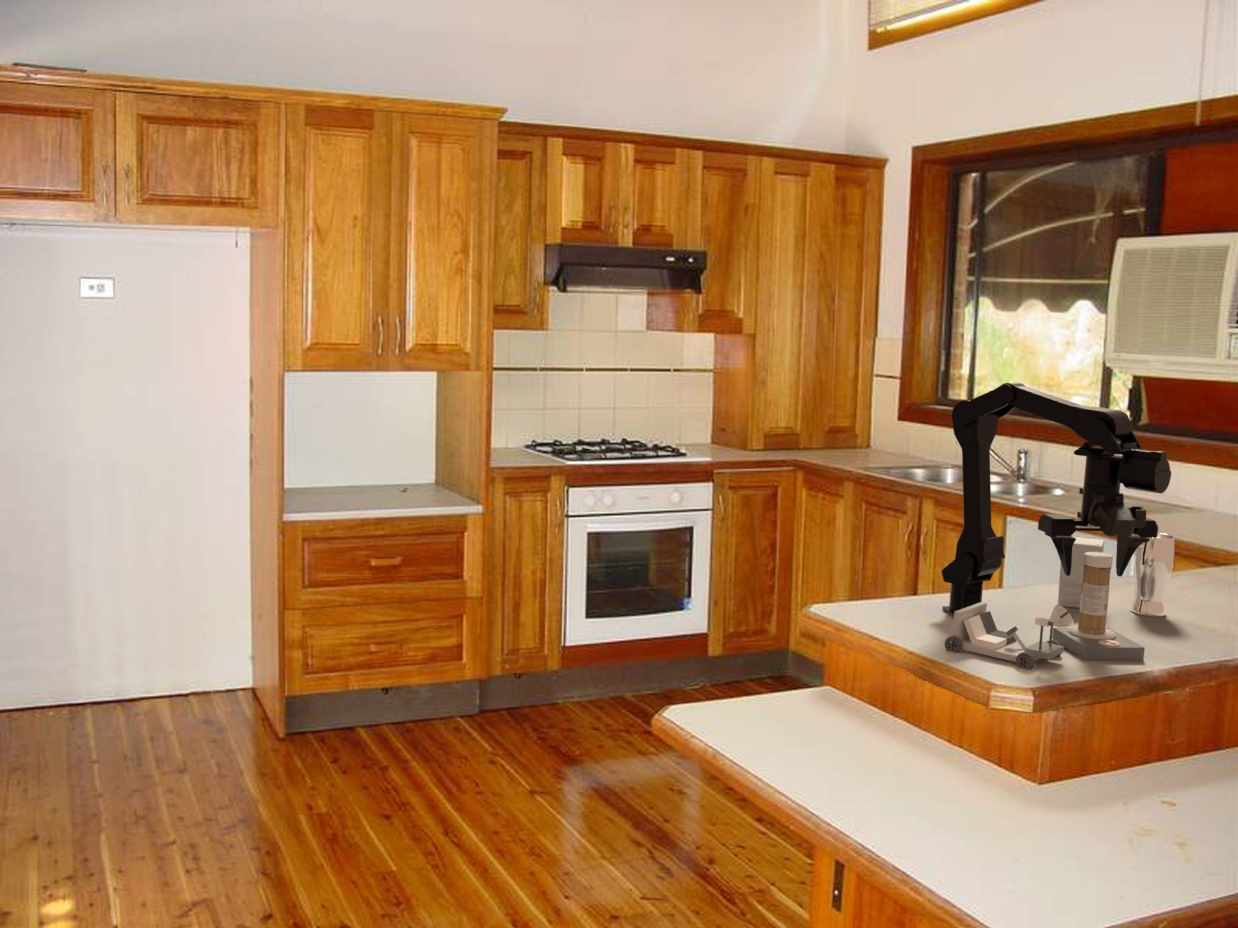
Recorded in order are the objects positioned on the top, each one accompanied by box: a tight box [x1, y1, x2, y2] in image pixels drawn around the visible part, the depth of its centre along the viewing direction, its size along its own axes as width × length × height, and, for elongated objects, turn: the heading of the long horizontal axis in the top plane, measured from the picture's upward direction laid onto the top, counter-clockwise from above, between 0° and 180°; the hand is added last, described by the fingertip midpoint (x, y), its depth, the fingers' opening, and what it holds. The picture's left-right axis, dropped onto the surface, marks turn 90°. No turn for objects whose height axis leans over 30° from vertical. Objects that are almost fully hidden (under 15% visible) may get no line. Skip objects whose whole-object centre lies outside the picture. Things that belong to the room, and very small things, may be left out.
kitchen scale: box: [1052, 625, 1146, 662], centre depth 210 cm, size 12×10×3 cm
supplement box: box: [1057, 536, 1105, 609], centre depth 242 cm, size 7×7×13 cm
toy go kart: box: [943, 601, 1074, 671], centre depth 205 cm, size 18×10×12 cm
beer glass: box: [1130, 532, 1175, 618], centre depth 237 cm, size 7×7×15 cm
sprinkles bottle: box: [1077, 552, 1114, 634], centre depth 211 cm, size 5×5×14 cm
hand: (1093, 575), depth 212 cm, fingers open, 9 cm apart
